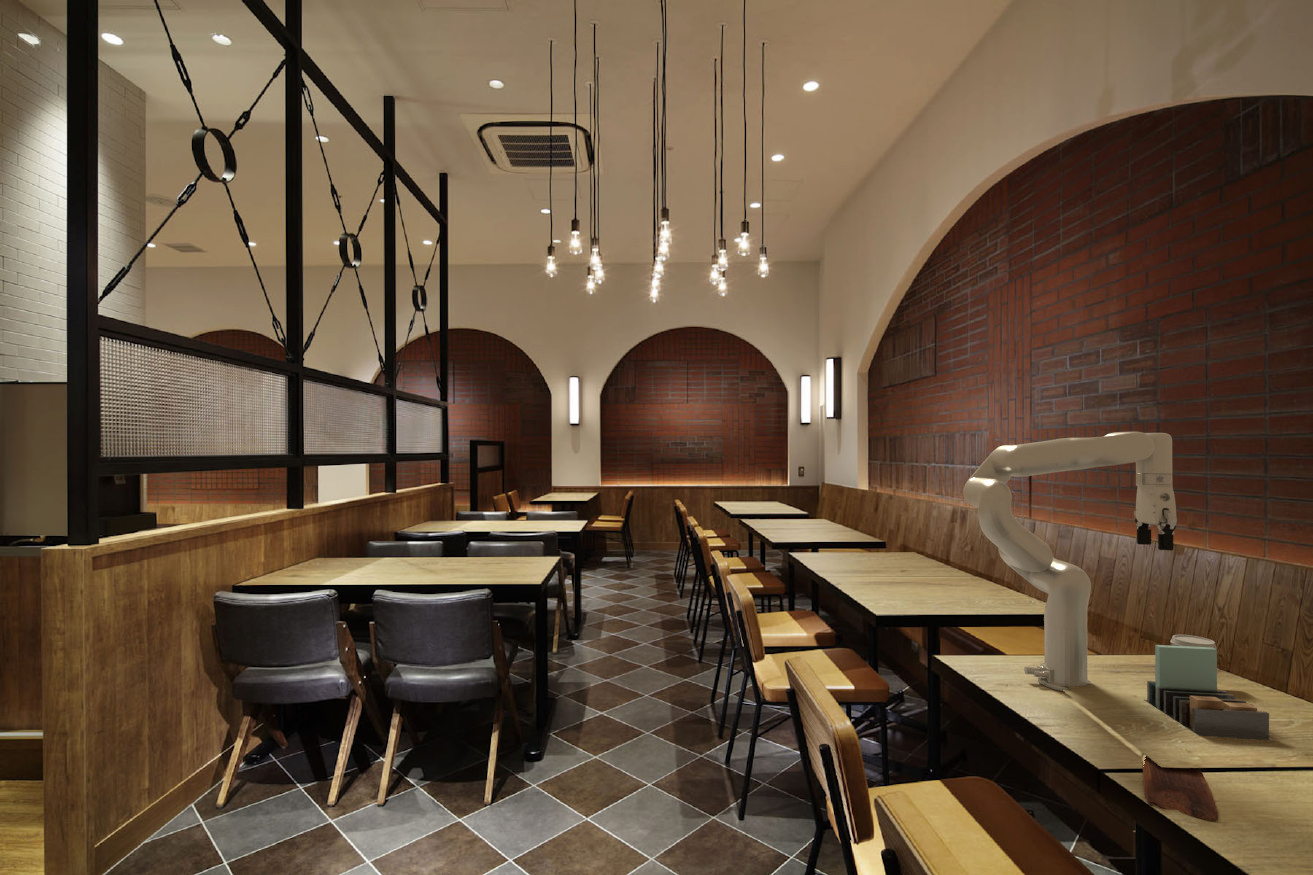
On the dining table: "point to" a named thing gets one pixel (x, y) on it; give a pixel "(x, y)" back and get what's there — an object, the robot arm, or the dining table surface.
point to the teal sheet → (1185, 667)
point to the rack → (1209, 713)
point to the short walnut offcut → (1238, 706)
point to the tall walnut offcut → (1204, 703)
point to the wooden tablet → (1179, 790)
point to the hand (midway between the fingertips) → (1154, 547)
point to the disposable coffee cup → (1192, 641)
